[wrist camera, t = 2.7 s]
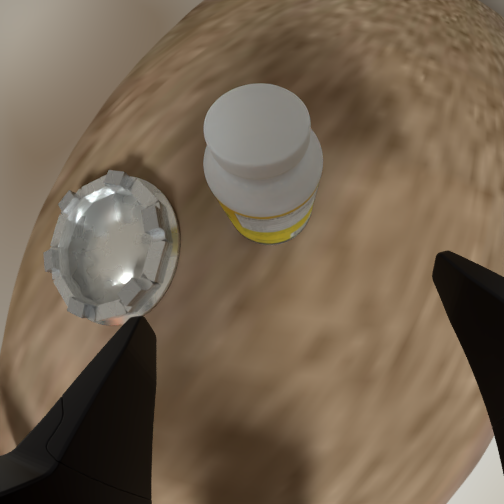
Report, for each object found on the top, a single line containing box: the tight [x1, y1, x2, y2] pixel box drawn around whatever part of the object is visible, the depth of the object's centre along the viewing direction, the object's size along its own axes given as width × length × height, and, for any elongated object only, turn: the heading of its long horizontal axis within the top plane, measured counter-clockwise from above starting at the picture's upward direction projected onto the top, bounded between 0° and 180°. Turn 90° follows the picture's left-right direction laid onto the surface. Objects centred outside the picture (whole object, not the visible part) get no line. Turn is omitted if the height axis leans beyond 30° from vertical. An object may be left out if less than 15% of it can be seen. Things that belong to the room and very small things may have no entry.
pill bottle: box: [203, 83, 323, 245], centre depth 17 cm, size 6×6×12 cm
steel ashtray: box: [44, 170, 180, 325], centre depth 22 cm, size 14×14×3 cm
